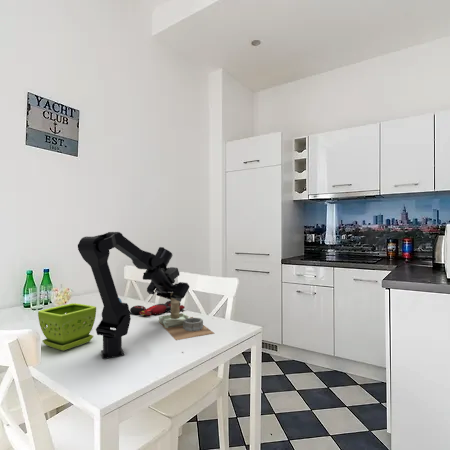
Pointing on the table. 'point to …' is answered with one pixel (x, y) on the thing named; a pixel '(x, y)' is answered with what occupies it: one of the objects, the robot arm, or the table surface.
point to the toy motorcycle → (152, 309)
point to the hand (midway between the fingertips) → (177, 300)
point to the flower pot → (67, 325)
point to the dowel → (175, 308)
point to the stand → (184, 326)
